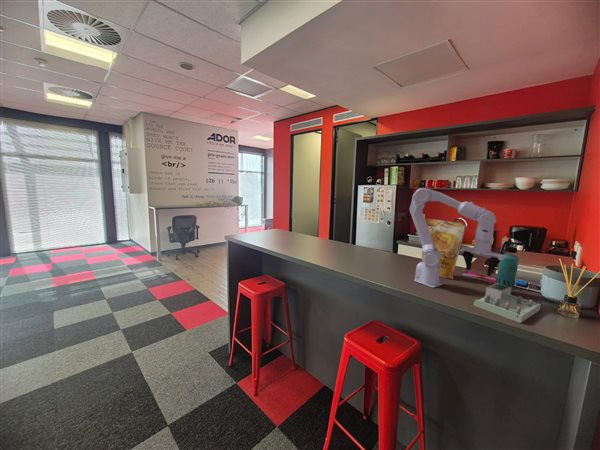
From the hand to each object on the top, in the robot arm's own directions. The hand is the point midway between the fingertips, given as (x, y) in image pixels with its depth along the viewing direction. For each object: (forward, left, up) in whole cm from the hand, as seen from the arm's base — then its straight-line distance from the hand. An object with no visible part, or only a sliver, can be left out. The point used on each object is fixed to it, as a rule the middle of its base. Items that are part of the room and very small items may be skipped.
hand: (478, 272), depth 104 cm
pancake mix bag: (-22, +9, -10) cm, 26 cm away
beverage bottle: (+5, +14, -10) cm, 18 cm away
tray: (+12, -4, -9) cm, 16 cm away
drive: (+9, -4, -8) cm, 13 cm away
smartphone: (-8, +25, -10) cm, 28 cm away
